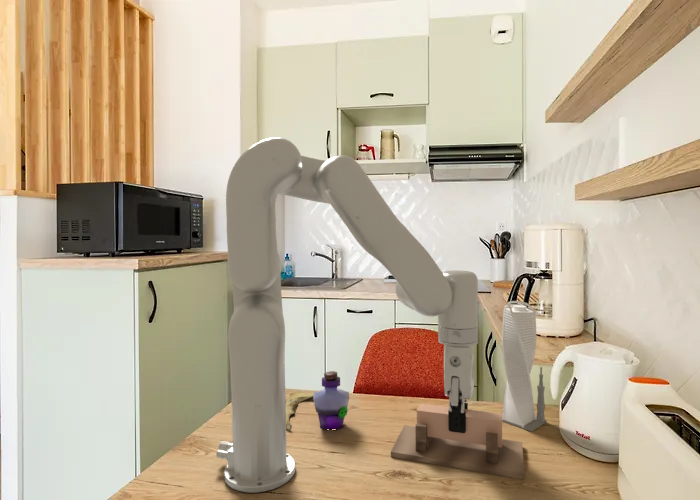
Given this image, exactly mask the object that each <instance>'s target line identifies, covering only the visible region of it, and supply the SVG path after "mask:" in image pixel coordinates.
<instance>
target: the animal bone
mask: <svg viewBox="0 0 700 500" xmlns="http://www.w3.org/2000/svg"><path fill="white" fill-rule="evenodd" d="M315 392H316V391H314V392H311V393H309V392H302V391H295V392H294V391H293V392H291V393H290V394H289V398H288V399H286V400H287V401H286V431H288V432H291V429H292V424H291V423H290V419H291V416H292V415H294V414H296V413H295V411H297V408H299V403H301V402H303V401H305V400H308V399H310V398H311V399H312V398H313V395H314V393H315Z"/></svg>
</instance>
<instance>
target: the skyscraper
mask: <svg viewBox="0 0 700 500" xmlns="http://www.w3.org/2000/svg"><path fill="white" fill-rule="evenodd" d="M536 316H537V315H536V310H535V309H534V308H533V306H532V305H531V304H529V303H528V302H525V301H520V300H511V301H508V302H507V304H505V305H504V306H503V315H502V328H501V347H502V348H501V350H502V359H503V365H504V371H505V375H506V381H505V387H504V389H505V390H504V396H503V404H502V405H503V406H502V413H501V414H502V423H506V424H508V425H510V426H515V427H517V428H520V429H522V430H524V431H528V432H533V431H536V430H537V429H538V428H540V427H542V426H543V425H544V424H546V423H547V419H546V415H545V410H546V404H545V387H546V386H545V385H544V381H543V380H544V379H543V378H544V374H543V366H540V372H539V374H538V375H539V376H538V377H539V382H538V385H537V400H536V401H537V403H536V411H537V412H536V413H535V402H534V394H533V386H532V381H531V373H532V369H533V365H534V360H535V355H536V348H537V346H536V345H537V317H536ZM535 415H536V416H535Z"/></svg>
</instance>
